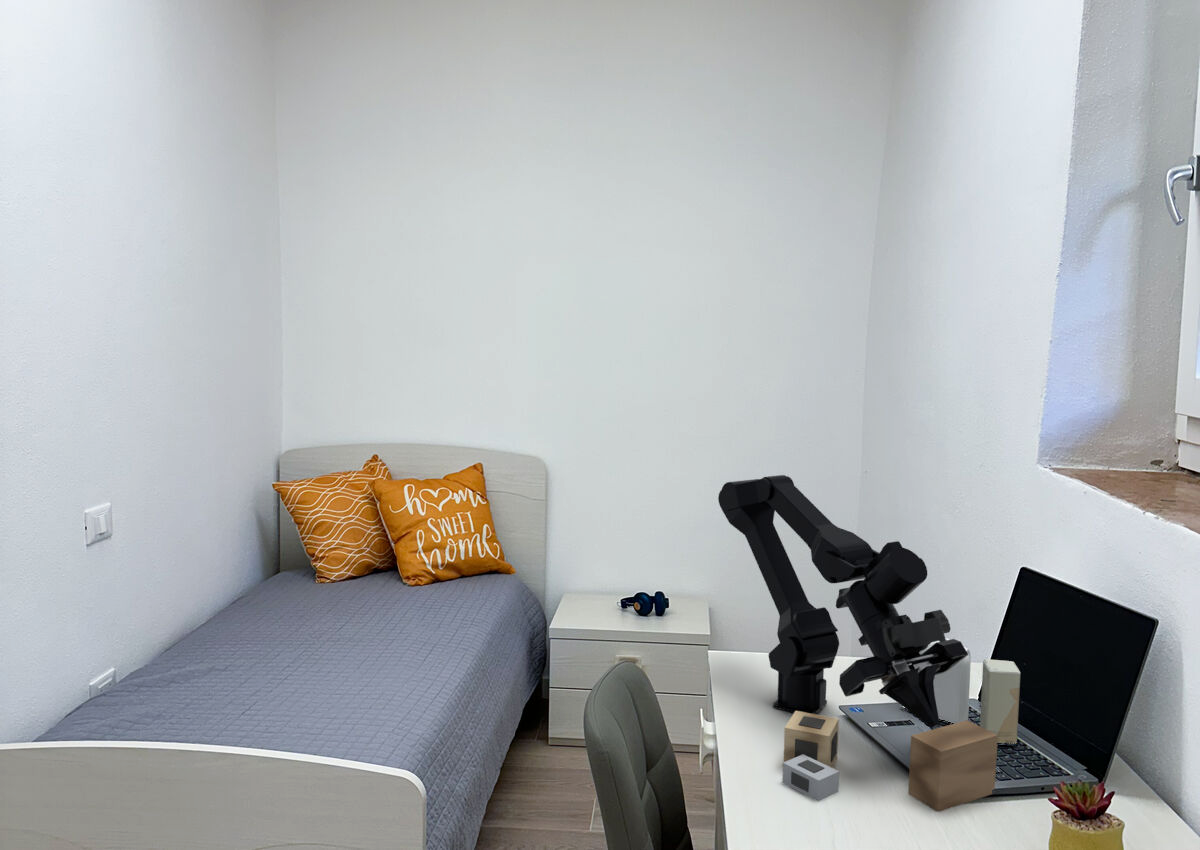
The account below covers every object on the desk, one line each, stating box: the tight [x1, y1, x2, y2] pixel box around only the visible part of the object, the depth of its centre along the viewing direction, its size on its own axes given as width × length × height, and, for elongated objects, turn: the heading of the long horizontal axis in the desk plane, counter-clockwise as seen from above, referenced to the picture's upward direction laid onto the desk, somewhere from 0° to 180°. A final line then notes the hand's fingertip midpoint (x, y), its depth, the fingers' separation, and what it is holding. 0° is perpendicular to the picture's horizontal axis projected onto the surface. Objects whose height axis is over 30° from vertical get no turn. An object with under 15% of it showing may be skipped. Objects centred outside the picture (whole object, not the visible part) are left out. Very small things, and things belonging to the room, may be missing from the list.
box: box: [979, 658, 1021, 744], centre depth 142 cm, size 5×4×11 cm
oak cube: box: [783, 711, 840, 769], centre depth 134 cm, size 6×6×6 cm
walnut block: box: [907, 719, 998, 813], centre depth 126 cm, size 5×10×8 cm, turn 118°
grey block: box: [781, 754, 840, 802], centre depth 128 cm, size 6×4×3 cm
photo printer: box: [908, 637, 972, 724], centre depth 150 cm, size 10×4×12 cm, turn 47°
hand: (935, 726), depth 129 cm, fingers closed
